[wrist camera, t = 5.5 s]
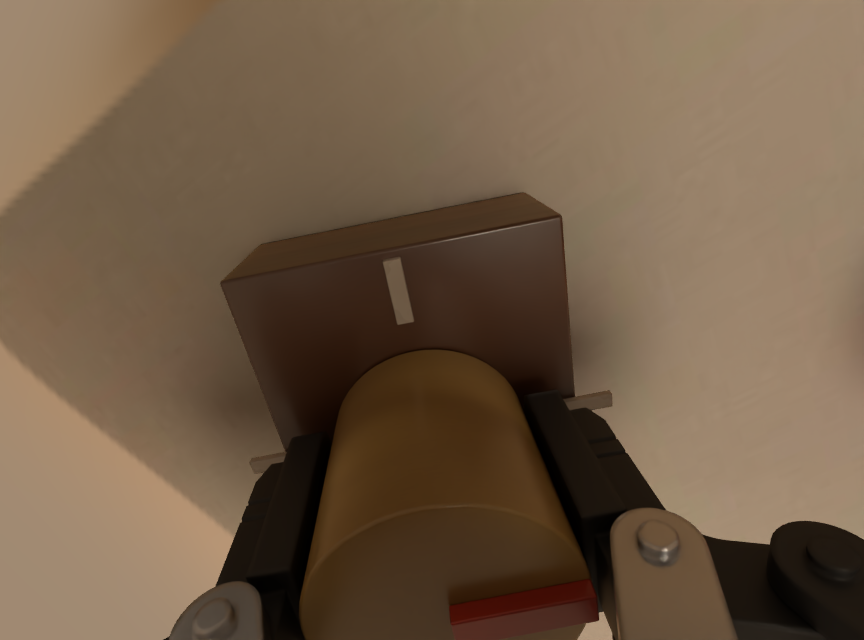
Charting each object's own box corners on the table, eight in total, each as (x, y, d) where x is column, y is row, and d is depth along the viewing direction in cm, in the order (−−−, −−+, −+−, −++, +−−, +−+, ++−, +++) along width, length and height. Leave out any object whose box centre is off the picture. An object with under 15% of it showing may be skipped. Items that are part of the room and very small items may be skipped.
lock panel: (228, 250, 12) (175, 292, 9) (556, 185, 12) (606, 207, 9) (323, 507, 16) (306, 594, 13) (577, 459, 16) (617, 537, 13)
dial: (363, 517, 12) (342, 747, 8) (312, 370, 10) (247, 560, 6) (532, 483, 12) (608, 697, 8) (510, 330, 10) (593, 492, 6)
